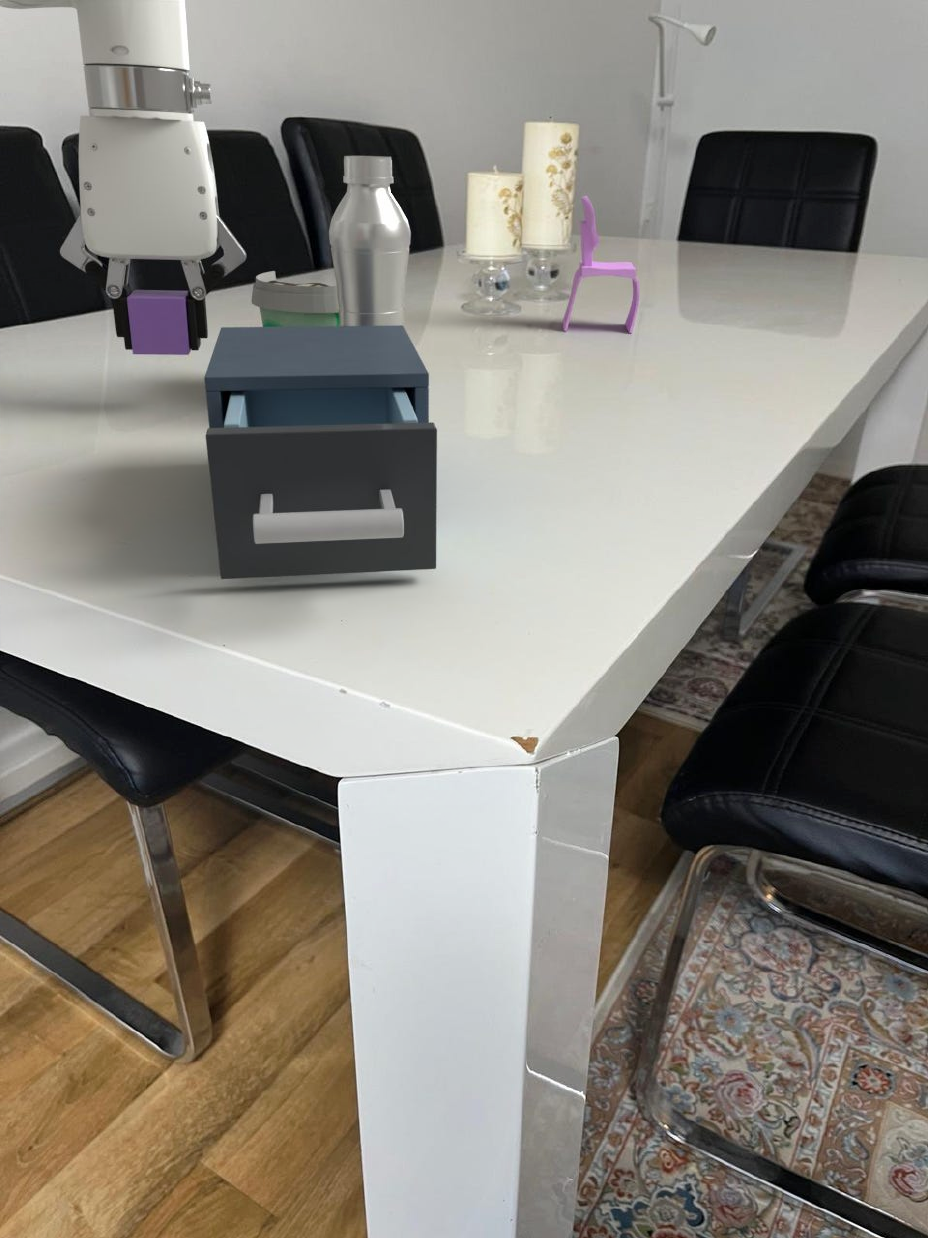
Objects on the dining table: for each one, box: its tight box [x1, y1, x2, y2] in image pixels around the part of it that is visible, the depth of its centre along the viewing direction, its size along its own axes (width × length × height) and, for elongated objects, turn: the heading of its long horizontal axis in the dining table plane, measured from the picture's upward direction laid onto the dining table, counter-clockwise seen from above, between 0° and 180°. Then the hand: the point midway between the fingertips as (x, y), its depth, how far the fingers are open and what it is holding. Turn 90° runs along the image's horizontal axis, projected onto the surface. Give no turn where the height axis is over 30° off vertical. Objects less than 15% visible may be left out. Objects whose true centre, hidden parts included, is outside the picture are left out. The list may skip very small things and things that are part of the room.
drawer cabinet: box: [203, 325, 430, 428], centre depth 63 cm, size 15×13×10 cm
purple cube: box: [127, 289, 192, 356], centre depth 79 cm, size 4×4×4 cm
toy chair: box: [562, 195, 640, 334], centre depth 116 cm, size 8×9×15 cm
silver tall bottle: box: [328, 155, 412, 327], centre depth 77 cm, size 6×7×20 cm
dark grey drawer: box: [205, 387, 438, 580], centre depth 53 cm, size 18×11×8 cm, turn 9°
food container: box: [251, 270, 339, 327], centre depth 85 cm, size 12×6×10 cm, turn 55°
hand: (163, 344), depth 80 cm, fingers closed on purple cube, 4 cm apart
